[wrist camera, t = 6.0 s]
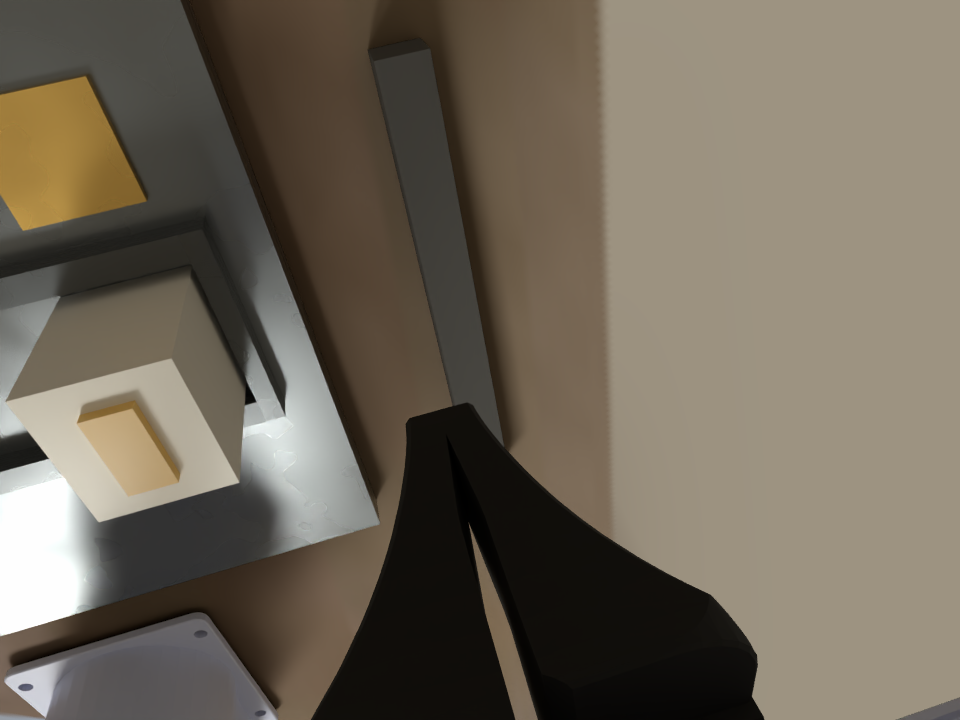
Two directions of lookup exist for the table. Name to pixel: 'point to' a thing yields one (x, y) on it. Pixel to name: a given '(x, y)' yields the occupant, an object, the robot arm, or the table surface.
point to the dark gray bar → (435, 219)
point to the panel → (138, 253)
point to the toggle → (135, 394)
